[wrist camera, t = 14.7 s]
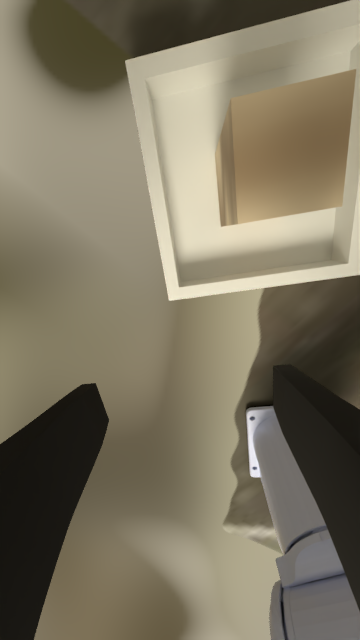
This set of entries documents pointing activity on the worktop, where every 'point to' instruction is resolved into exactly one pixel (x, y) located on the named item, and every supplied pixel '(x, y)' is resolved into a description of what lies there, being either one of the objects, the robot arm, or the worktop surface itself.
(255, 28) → the tray
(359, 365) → the worktop surface
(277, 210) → the wooden block
